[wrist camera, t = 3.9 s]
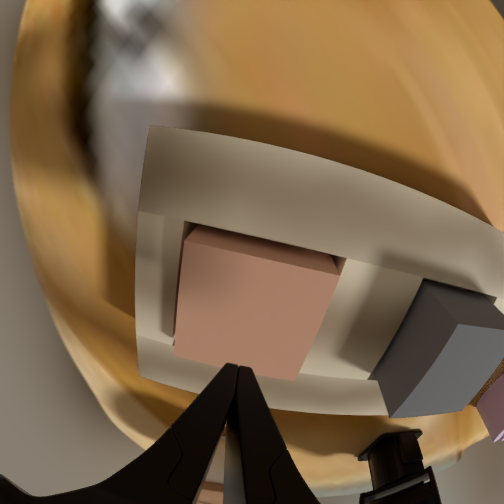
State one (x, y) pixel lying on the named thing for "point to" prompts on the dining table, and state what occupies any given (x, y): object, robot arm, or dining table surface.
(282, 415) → the dining table surface
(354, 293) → the button console
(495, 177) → the dining table surface
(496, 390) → the mauve piece
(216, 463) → the lidded jar
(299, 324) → the terracotta button
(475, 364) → the charcoal button
